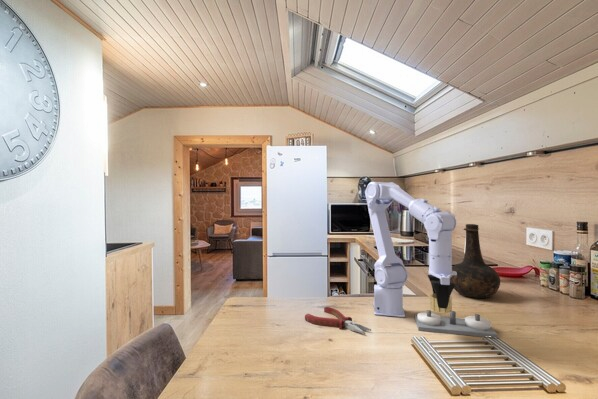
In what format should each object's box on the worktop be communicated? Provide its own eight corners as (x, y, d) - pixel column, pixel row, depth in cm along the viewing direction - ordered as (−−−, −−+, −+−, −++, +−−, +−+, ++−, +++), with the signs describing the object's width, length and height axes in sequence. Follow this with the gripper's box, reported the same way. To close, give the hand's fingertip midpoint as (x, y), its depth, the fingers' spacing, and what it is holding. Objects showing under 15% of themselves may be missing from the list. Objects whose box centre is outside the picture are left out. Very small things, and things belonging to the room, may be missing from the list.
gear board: (418, 330, 86) (418, 314, 86) (414, 317, 96) (414, 303, 96) (497, 338, 81) (497, 321, 81) (485, 323, 91) (485, 308, 91)
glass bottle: (496, 291, 124) (495, 223, 124) (504, 305, 108) (503, 226, 108) (448, 286, 131) (447, 222, 132) (448, 298, 115) (448, 225, 116)
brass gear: (431, 311, 82) (431, 298, 82) (428, 305, 87) (428, 292, 87) (453, 313, 80) (453, 300, 80) (449, 307, 86) (449, 294, 86)
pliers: (356, 342, 80) (356, 332, 80) (302, 321, 94) (302, 313, 95) (379, 330, 88) (379, 321, 88) (326, 312, 102) (326, 304, 103)
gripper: (462, 260, 76) (463, 315, 76) (450, 251, 90) (451, 297, 90) (432, 259, 78) (432, 312, 78) (425, 250, 92) (425, 295, 92)
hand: (440, 304), depth 84 cm, fingers closed on brass gear, 5 cm apart
